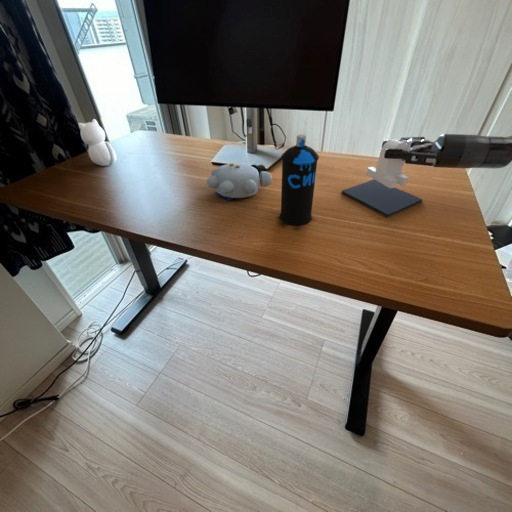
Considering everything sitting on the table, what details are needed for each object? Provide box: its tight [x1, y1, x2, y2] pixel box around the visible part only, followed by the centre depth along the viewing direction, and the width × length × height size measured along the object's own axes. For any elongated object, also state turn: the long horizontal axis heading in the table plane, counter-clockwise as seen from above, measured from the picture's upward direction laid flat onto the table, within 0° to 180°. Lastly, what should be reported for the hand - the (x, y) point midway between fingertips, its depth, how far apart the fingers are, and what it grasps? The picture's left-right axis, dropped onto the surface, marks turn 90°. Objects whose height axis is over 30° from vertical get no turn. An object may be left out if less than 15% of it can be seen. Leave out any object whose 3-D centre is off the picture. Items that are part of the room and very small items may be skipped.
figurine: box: [206, 162, 273, 202], centre depth 80 cm, size 17×8×20 cm
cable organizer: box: [366, 138, 409, 188], centre depth 69 cm, size 5×10×10 cm, turn 20°
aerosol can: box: [279, 134, 320, 227], centre depth 63 cm, size 8×8×20 cm
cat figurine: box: [77, 118, 118, 167], centre depth 98 cm, size 9×12×15 cm
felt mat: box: [341, 178, 423, 218], centre depth 76 cm, size 16×14×1 cm
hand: (383, 148), depth 68 cm, fingers closed on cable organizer, 5 cm apart
